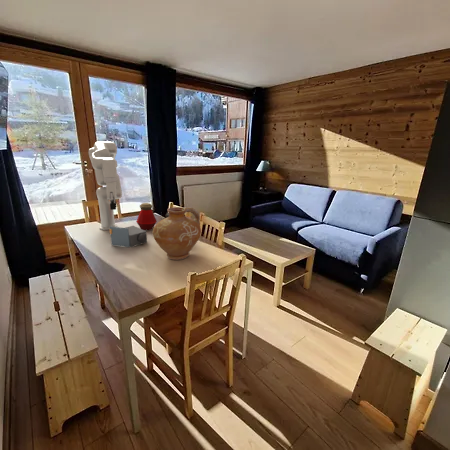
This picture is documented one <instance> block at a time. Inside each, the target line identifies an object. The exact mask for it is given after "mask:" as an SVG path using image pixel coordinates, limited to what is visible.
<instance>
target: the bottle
mask: <svg viewBox="0 0 450 450" xmlns="http://www.w3.org/2000/svg"><path fill="white" fill-rule="evenodd" d="M139 208H140V212H139V214H138V216H137V218H136V221H135V222H136V224H137V225H138V228H140V229H142V230H145V231H151V230H152V231H153V229H154V227H155V225H156V224H157V223H158V222H157V221H158V220H157V218H156V216H155V214H154V212H153V210H152V209H153V205H152V204H151V203H149V202H142V203H141V204H139Z"/></svg>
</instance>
